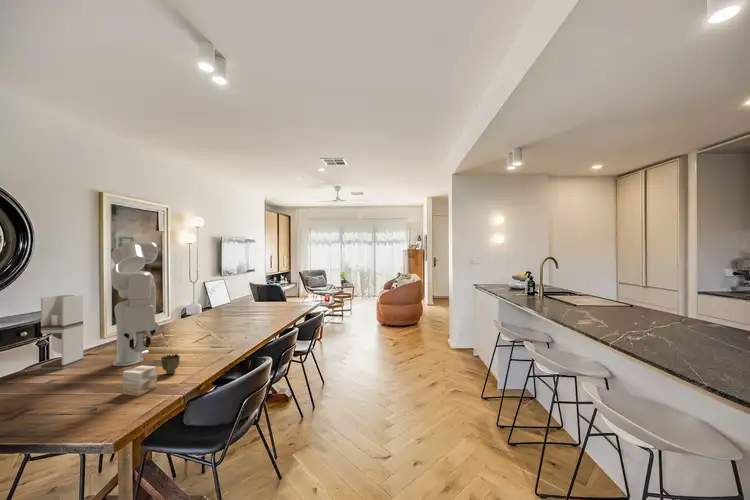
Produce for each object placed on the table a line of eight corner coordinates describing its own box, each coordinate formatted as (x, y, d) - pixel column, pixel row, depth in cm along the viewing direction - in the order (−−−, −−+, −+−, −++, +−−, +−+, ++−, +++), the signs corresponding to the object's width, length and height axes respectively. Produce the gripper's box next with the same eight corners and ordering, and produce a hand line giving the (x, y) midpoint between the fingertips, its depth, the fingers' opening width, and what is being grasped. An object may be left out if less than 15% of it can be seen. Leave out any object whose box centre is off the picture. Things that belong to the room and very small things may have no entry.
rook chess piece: (137, 350, 138) (137, 330, 138) (149, 349, 138) (149, 330, 139) (130, 353, 134) (130, 333, 134) (142, 352, 134) (142, 332, 134)
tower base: (141, 386, 141) (141, 376, 141) (156, 388, 139) (156, 377, 139) (122, 394, 133) (122, 383, 133) (138, 396, 131) (138, 385, 131)
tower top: (141, 376, 141) (141, 365, 141) (156, 377, 139) (156, 366, 139) (122, 383, 133) (122, 371, 133) (138, 385, 131) (138, 373, 131)
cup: (182, 373, 156) (182, 355, 156) (164, 377, 150) (163, 359, 150) (176, 369, 161) (176, 352, 161) (159, 373, 155) (159, 356, 156)
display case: (62, 362, 174) (62, 294, 174) (83, 361, 174) (83, 294, 174) (40, 369, 162) (41, 297, 163) (63, 369, 163) (63, 297, 163)
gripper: (113, 306, 128) (113, 353, 128) (165, 301, 138) (165, 346, 138) (114, 304, 134) (114, 349, 134) (163, 300, 144) (163, 342, 144)
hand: (140, 347), depth 136 cm, fingers closed on rook chess piece, 4 cm apart
